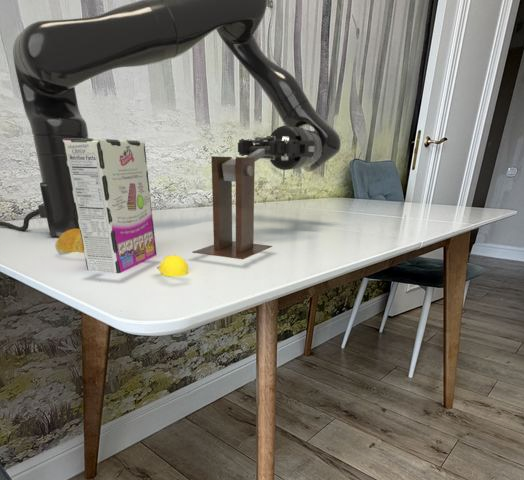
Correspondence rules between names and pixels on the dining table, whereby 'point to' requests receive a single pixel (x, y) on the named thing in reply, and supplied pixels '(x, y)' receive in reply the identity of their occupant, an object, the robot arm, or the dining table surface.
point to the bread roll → (69, 242)
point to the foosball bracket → (224, 211)
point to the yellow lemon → (173, 266)
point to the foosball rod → (254, 152)
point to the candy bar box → (111, 202)
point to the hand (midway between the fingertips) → (256, 147)
